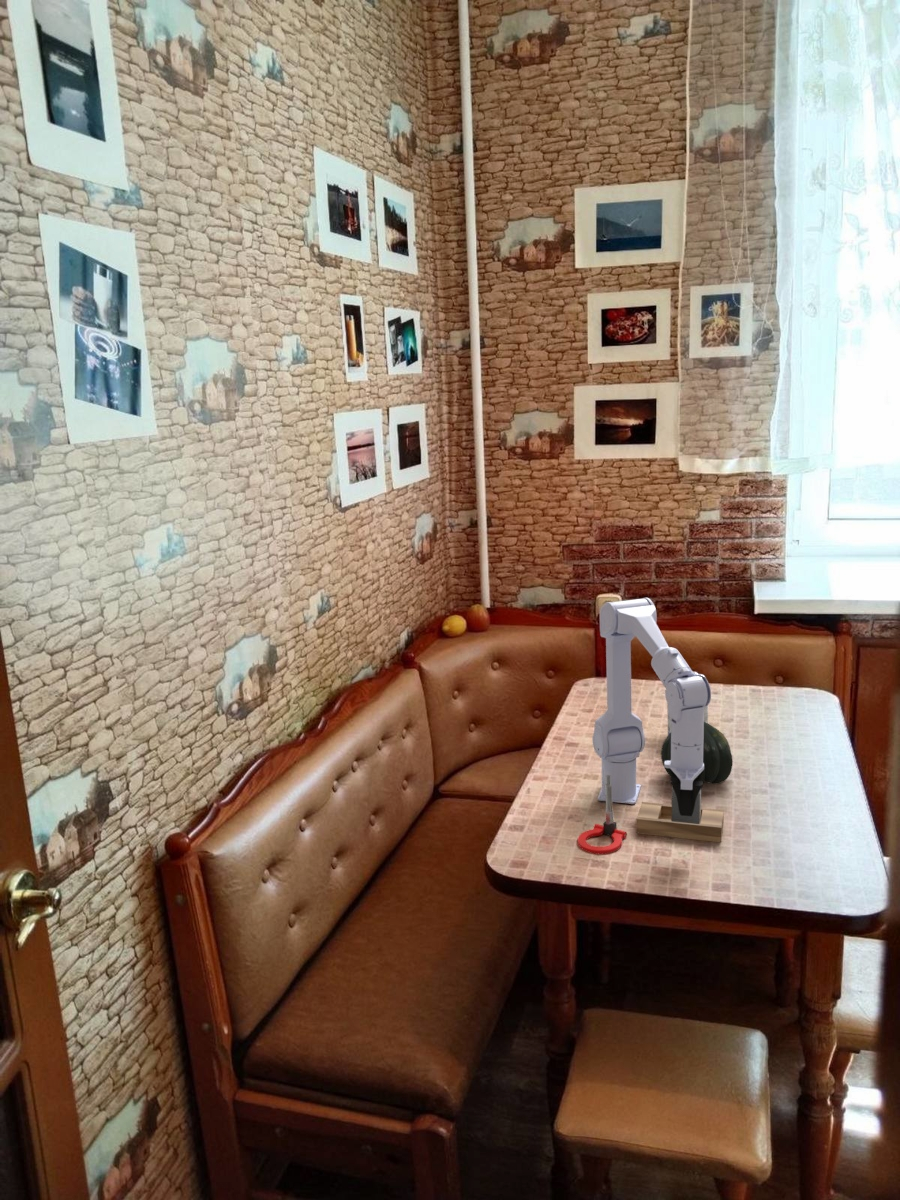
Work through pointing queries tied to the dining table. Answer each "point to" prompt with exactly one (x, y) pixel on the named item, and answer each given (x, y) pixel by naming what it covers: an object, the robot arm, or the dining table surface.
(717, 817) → the open wooden tray
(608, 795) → the tow hook
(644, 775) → the dining table surface
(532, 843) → the dining table surface
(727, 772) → the squash
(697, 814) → the grey rectangular prism
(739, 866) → the dining table surface
